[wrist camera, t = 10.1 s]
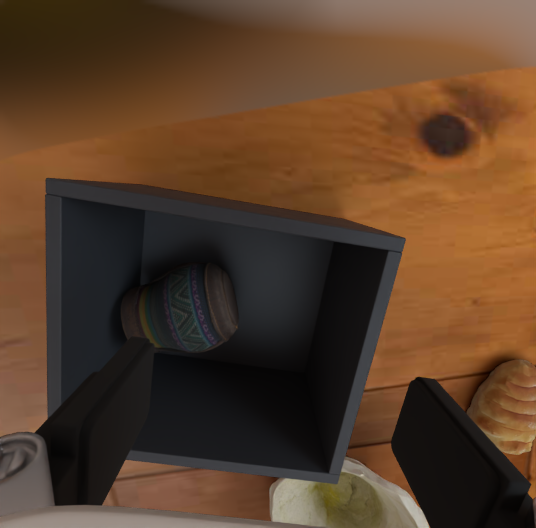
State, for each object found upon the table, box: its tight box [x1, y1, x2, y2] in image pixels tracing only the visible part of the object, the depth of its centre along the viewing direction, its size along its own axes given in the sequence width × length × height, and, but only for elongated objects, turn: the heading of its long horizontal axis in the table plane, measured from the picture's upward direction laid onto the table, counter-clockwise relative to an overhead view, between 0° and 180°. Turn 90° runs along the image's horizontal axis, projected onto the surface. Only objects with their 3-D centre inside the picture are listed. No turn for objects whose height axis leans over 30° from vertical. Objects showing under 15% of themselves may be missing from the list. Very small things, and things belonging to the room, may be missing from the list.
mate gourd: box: [121, 262, 239, 353], centre depth 24 cm, size 7×8×10 cm
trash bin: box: [45, 178, 406, 484], centre depth 23 cm, size 17×19×12 cm
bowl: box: [269, 456, 429, 528], centre depth 29 cm, size 15×14×10 cm
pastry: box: [466, 359, 536, 455], centre depth 30 cm, size 9×7×4 cm
